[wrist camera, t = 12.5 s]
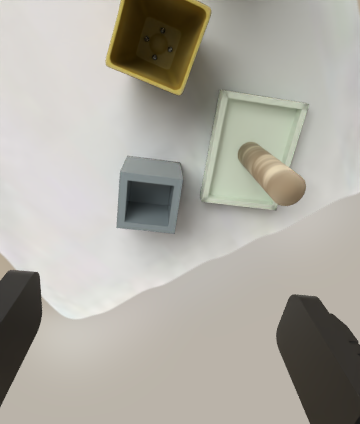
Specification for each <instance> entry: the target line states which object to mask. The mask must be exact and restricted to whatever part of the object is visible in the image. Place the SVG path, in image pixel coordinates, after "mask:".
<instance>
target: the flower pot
mask: <svg viewBox="0 0 360 424" xmlns="http://www.w3.org/2000/svg"><path fill="white" fill-rule="evenodd" d="M210 16H211V8H210V7H208V6H207V5H205V4H203V3H201V2H199V1H197V0H121V2H120V6H119V11H118V15H117V19H116V23H115V27H114V30H113V34H112V38H111V41H110V45H109V49H108V52H107V56H106V66H108V67H110V68H112V69H114V70H117V71H120V72H122V73H125V74H127V75H130V76H132V77H135V78H137V79H139V80H142V81H144V82H146V83H149V84H151V85H154V86H156V87H159V88H161V89H163V90H166V91H168V92H170V93H173V94H175V95H181V94H182V93H183V91H184V88H185V85H186V82H187V79H188V77H189V74H190V71H191V68H192V65H193V63H194V60H195V57H196V55H197V51H198V49H199V46H200V43H201V41H202V38H203V35H204V33H205V30H206V28H207V25H208V22H209V19H210ZM161 28H164V29H165V32H164V33H161ZM146 36H147V37H148V38H149V41H145V37H146ZM169 47H172V51H171V52H169V51H168V48H169ZM153 55H156V57H157V58H156V60H154V59H153V58H152V56H153Z"/></svg>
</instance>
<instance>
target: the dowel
mask: <svg viewBox="0 0 360 424" xmlns="http://www.w3.org/2000/svg"><path fill="white" fill-rule="evenodd" d="M238 159H239V161H240V162H241V164H242V165H243V166H244V167H245V168H246V169H247V171H248V172H249V173H250V174H251V175H252V176H253V177H254V179H255V180H256V181H257V182H258V183H259V184H260V186H261V187H262V188H263V189H264V190H265V191H266V193H267V194H268V195H269V196H270V197H271V198H272V199H273V201H274V202H275V203H277V204H278V205H281V206H289V205H293V204H295V203H296V202H298V201H299V200H300V199H301V198H302V197H303V195H304V193H305V189H306V184H305V181H304V179H303V178H302V177H301V176H300V175H298V174H297V173H296V172H294V171H293V170H292V169H290V168H289V167H288V166H286V165H285V164H284V163H282V162H281V161H280V160H278V159H277V158H276V157H274V156H273V155H272V154H270V153H269V152H268V151H266V150H265V149H264V148H262V147H261V146H260V145H258V144H257V143H255V142H247V143H245V144H243V145H242V146H241V147H240V149H239V151H238Z"/></svg>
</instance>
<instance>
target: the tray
mask: <svg viewBox="0 0 360 424" xmlns="http://www.w3.org/2000/svg"><path fill="white" fill-rule="evenodd" d="M308 107H309V104H306V103H301V102H295V101H289V100H282V99H276V98H270V97H264V96H257V95H251V94H245V93H239V92H232V91H226V90H220V92H219V97H218V102H217V107H216V113H215V118H214V123H213V129H212V134H211V139H210V145H209V150H208V155H207V161H206V166H205V171H204V177H203V182H202V187H201V193H200V198H201V201H202V202H208V203H216V204H225V205H234V206H242V207H251V208H259V209H268V210H276V209H277V206H278V204H277V203H275V202H274V201H273V199H272V198H271V197H270V196H269V195H268V194H267V193H266V191H265V190H264V189H263V188H262V187H261V186H260V184H259V183H258V182H257V181H256V180H255V179H254V177H253V176H252V175H251V174H250V173H249V172H248V171H247V169H246V168H245V167H244V166H243V165H242V164H241V162H240V161H239V159H238V151H239V149H240V147H241V146H242V145H243V144H245V143H247V142H255V143H257V144H258V145H260V146H261V147H262V148H264V149H265V150H266V151H268V152H269V153H270V154H272V155H273V156H274V157H276V158H277V159H278V160H280V161H281V162H282V163H284V164H285V165H286V166H288V167H290V164H291V161H292V158H293V155H294V151H295V148H296V145H297V142H298V139H299V135H300V132H301V129H302V126H303V123H304V119H305V116H306V113H307V110H308Z"/></svg>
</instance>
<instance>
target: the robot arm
mask: <svg viewBox="0 0 360 424" xmlns="http://www.w3.org/2000/svg"><path fill="white" fill-rule="evenodd" d="M41 317H42V302H41V288H40V276H39V273H38V272H30V271H18V270H10V271H8V272H7V273H6V274H5V276H4V277H3V278H2V280H1V281H0V406H1V404H2V402H3V400H4V398H5V396H6V394H7V392H8V390H9V388H10V386H11V384H12V382H13V380H14V378H15V376H16V374H17V372H18V370H19V368H20V366H21V364H22V362H23V360H24V358H25V356H26V354H27V352H28V350H29V348H30V346H31V344H32V342H33V340H34V337H35V336H36V334H37V331H38V329H39V326H40V322H41ZM276 337H277V345H278V348H279V351H280V353H281V356H282V358H283V360H284V363H285V365H286V367H287V370H288V372H289V375H290V377H291V379H292V382H293V384H294V386H295V389H296V391H297V394H298V396H299V398H300V401H301V403H302V406H303V408H304V410H305V413H306V415H307V417H308V419H309V422H310V424H360V345H359V344H358V340H357V339H356V338H355V336H354V335H353V333H352V332H351V331H350V329H349V328H348V327H347V326H346V325H345V324H344V323H343V322H341V321H340V320H339V319H338V318H337V317H336V316H334V315H333V314H329V312H328V311H327V309H326V308H325V306H324V305H323V304H322V302H321V301H320V300H319V298H318V297H316V296H306V295H291V296H290V298H289V299H288V302H287V304H286V307H285V310H284V312H283V315H282V317H281V320H280V322H279V325H278V328H277V333H276Z"/></svg>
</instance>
